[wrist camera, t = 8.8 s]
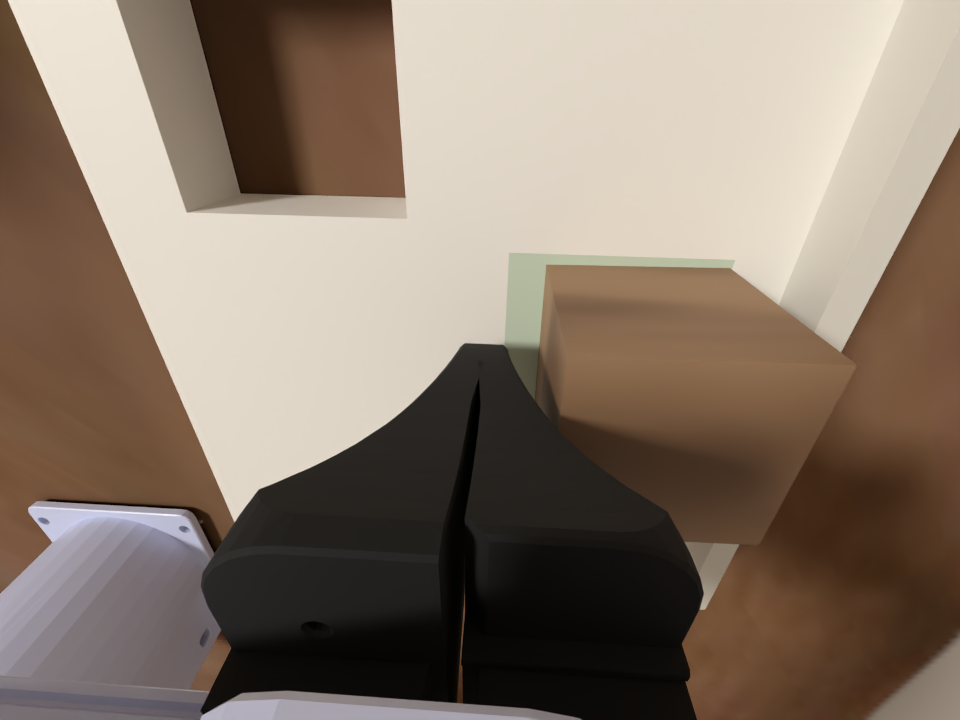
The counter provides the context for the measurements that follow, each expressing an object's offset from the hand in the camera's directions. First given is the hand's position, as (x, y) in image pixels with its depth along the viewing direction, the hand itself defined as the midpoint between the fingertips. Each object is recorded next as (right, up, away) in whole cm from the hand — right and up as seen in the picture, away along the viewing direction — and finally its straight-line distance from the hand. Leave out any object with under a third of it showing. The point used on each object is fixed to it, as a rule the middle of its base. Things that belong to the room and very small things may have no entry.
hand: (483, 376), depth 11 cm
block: (+4, +1, +1) cm, 4 cm away
